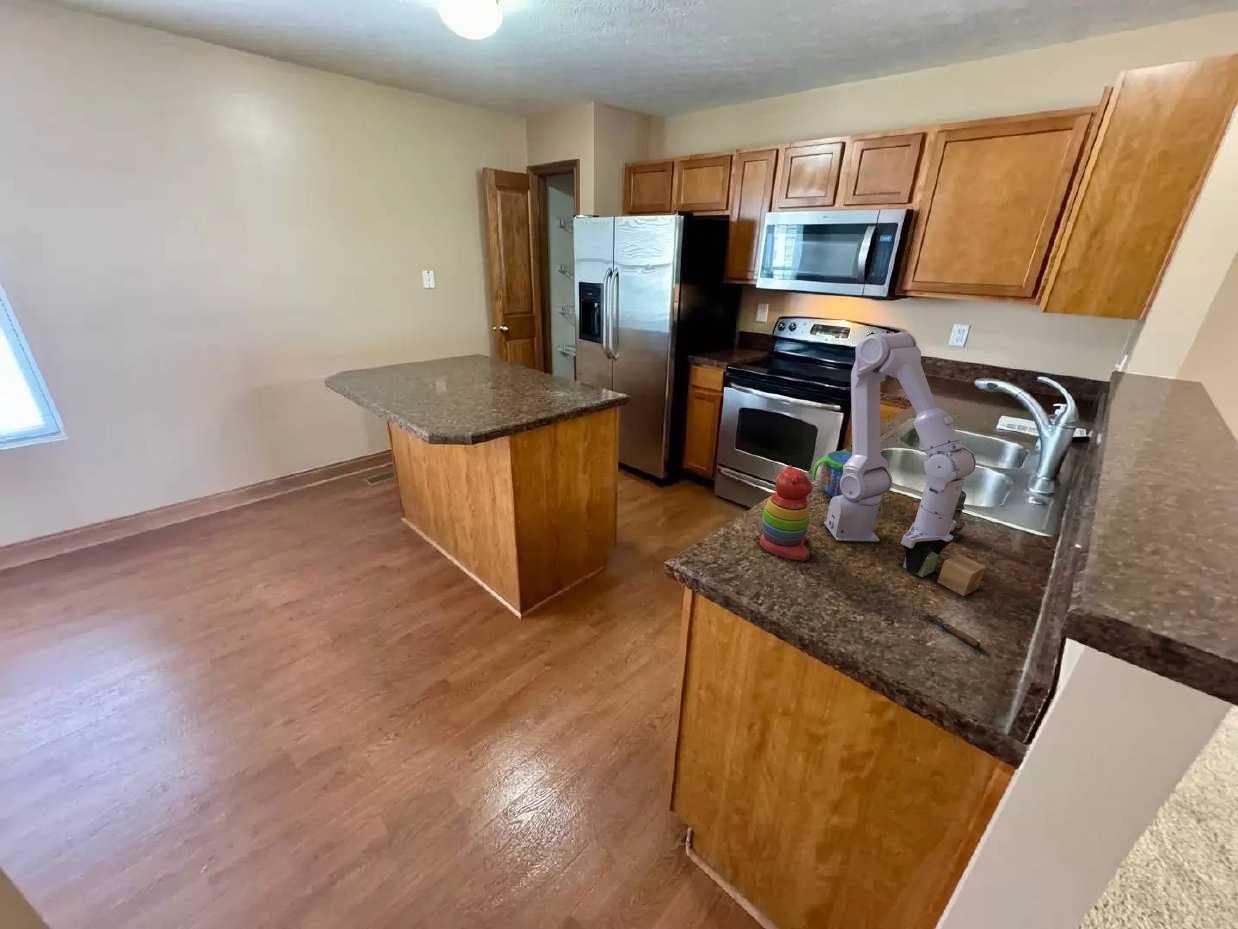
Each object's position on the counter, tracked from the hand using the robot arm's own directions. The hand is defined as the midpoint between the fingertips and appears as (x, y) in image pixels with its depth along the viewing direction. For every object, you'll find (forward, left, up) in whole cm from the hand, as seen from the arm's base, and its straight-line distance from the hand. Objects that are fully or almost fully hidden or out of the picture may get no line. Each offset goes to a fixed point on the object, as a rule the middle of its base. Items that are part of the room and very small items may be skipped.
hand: (918, 567), depth 103 cm
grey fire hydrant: (+14, +14, -1) cm, 20 cm away
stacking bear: (-25, +8, -1) cm, 26 cm away
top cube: (0, 0, 0) cm, 0 cm away
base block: (+5, -5, 0) cm, 7 cm away
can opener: (-4, -18, 0) cm, 18 cm away
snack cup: (-2, +33, -1) cm, 34 cm away
